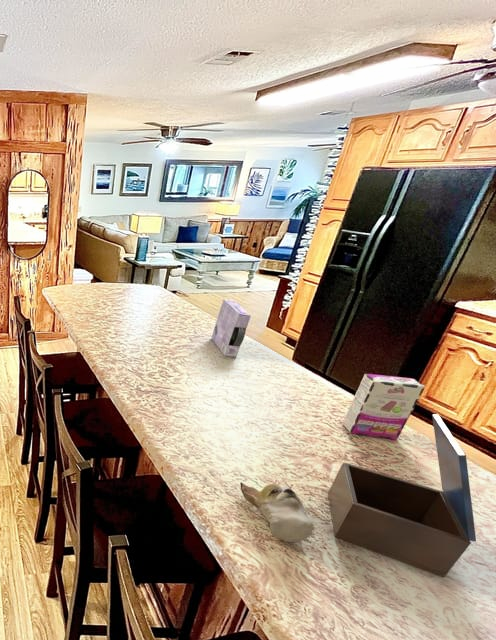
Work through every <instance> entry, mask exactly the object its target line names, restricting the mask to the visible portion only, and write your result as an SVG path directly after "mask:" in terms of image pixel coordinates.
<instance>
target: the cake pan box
mask: <svg viewBox="0 0 496 640" xmlns="http://www.w3.org/2000/svg"><path fill="white" fill-rule="evenodd" d="M250 320H251V314H250V313H249V312H248V311H246V310H245V309H244V308H243V307H242V306H241V305H240V304H239V303H238V302H237V301H236V300H235V299H225V298H224V299H223V300H222V302H221V305H220V309H219V312H218V315H217V318H216V322H215V326H214V327H213V331H212V334H211V339H210V340H212V341H213V342H214V344H215V346H216V347H217V348H218V350H219V351H220V352H221V354H223V356H224V357H227V358H237V356H238V353H239V351H240V347H241V345H242V343H243V342H244V339H245V336H246V332H247V328H248V325H249V323H250Z"/></svg>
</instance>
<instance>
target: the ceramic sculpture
mask: <svg viewBox="0 0 496 640" xmlns="http://www.w3.org/2000/svg"><path fill="white" fill-rule="evenodd" d="M239 484H240V485H239V486H240V490H241V493H242V496H243V497H244V499H245V500H246V501H247V503H249V504H251V505H252V506H254V508H256V509H257V510H259V511H260V512H261V513H262V515H263V516H264V517H265V518H266V520H267V521H268V522H269V531H270V532H271V534H272V536H273V537H275V538H276V539H279V540H281V541H284V542H286V543H294V542H301V541H304V540H306V539H308V538H309V537H310V536H311V534H312V532H313V531H314V530H315V527H314V523H313V521H312V520H311V519H310V518H308V517H307V513H306V511H305V507H304V505H303V502H301V499H300V498H299V497H298V494H297V493H296V492H295V491H294V490H293V489H292V488H290V487H289V486H287V485H283V484H279V483H278V484H277V483H271V484H267V485H264V487H263V488H262V489H261V490H258V489H257V488H255V487H252V486H248V485H246V484H245V483H243V482H242V481H240V482H239Z"/></svg>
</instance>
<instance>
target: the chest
mask: <svg viewBox="0 0 496 640" xmlns="http://www.w3.org/2000/svg"><path fill="white" fill-rule="evenodd" d="M327 496H328V502H329V510H330V515H331V521H332V526H333V533H334V537H335V538H336V539H339V540H342V541H345V542H348V543H350V544H353V545H356V546H359V547H361V548H364V549H367V550H369V551H372V552H375V553H378V554H380V555H383V556H385V557H387V558H388V557H389V558H390V559H393V560H396V561H399V562H401V563H404V564H407V565H410V566H412V567H415V568H417V569H420V570H423V571H425V572H429V573H431V574H434V575H437V576H439V577H442V578H445V577H446V575H447V574H448V573H449V572H450V571H451V569H452V568H453V567H454V566H455V564H456V563H457V562H458V561H459V559H460V558H461V557H462V555H463V554H464V553H465V551H466V550H467V549H468V548H469V546H471V543H472V541H469V540H468V538H467V536H466V534H465V532H464V530H463V528H462V526H461V524H460V522H459V520H458V519H457V517H456V515H455V513H454V511H453V509H452V507H451V505H450V503H449V501H448V499H447V498H446V496H445V494H444V492H443V490H439V489H437V488H433V487H429V486H426V485H423V484H419V483H416V482H413V481H409V480H407V479H403V478H400V477H396V476H393V475H389V474H386V473H382V472H379V471H376V470H372V469H369V468H365V467H362V466H359V465H355V464H351V463H349V462H346V461H343V462H342V463H341V466H340V467H339V470H338V472H337V473H336V475H335V477H334V479H333V481H332V484H331V486H330V488H329V490H328V492H327Z"/></svg>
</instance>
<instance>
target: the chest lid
mask: <svg viewBox="0 0 496 640" xmlns="http://www.w3.org/2000/svg"><path fill="white" fill-rule="evenodd" d="M431 417H432V425H433V432H434V440H435V447H436V452H437V460H438V468H439V476H440V482H441V483H440V484H441V491H443V492H444V494H445V496H446V498H447V499H448V501H449V503H450V505H451V507H452V509H453V511H454V513H455V515H456V517H457V519H458V520H459V522H460V524H461V526H462V528H463V530H464V532H465V534H466V536H467V538H468V540H469V541H470V542H477V535H476V528H475V519H474V510H473V504H472V495H471V486H470V478H469V469H468V462H467V455H466V453H465V452H464V449H462V447H461V446H460V445H459V443H458V442H457V439H456V438H455V437H454V435H453V434H452V432H451V431H450V430H449V428H448V426H447V425H446V424H445V422H444V421H443V419H442V418H441V416H440V415H439V413H434V414H433V413H432V414H431Z"/></svg>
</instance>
